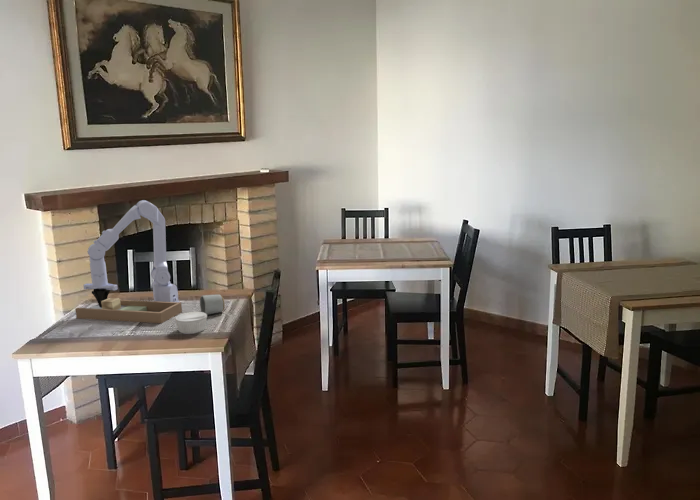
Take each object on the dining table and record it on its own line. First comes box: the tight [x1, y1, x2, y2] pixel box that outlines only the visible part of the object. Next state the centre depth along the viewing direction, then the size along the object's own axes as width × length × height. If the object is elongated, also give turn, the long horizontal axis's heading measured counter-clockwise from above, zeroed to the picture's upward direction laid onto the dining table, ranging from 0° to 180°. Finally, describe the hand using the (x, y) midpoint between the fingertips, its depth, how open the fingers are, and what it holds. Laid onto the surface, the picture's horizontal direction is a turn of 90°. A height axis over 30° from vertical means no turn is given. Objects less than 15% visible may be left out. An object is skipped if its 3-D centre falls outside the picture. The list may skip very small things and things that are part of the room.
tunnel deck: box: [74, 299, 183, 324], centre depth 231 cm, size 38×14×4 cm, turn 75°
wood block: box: [101, 297, 121, 310], centre depth 232 cm, size 5×5×4 cm
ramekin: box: [174, 311, 208, 335], centre depth 210 cm, size 11×11×5 cm
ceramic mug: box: [199, 294, 225, 316], centre depth 230 cm, size 11×8×8 cm
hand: (102, 306), depth 234 cm, fingers closed
